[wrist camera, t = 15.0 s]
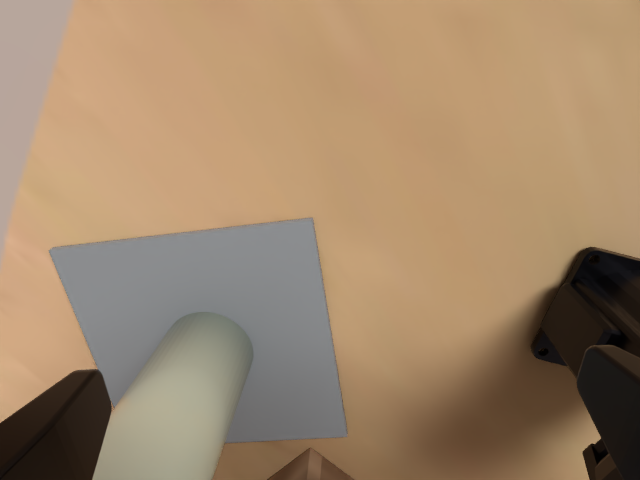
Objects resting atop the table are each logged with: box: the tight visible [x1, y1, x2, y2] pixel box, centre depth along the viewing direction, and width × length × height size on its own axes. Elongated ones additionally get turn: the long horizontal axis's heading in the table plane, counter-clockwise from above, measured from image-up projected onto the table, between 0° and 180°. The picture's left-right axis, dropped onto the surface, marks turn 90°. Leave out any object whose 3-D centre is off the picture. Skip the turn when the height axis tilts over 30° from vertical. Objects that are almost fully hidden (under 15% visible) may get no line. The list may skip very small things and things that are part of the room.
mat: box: [49, 218, 347, 443], centre depth 24 cm, size 14×14×1 cm
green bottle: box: [92, 312, 253, 480], centre depth 18 cm, size 5×5×14 cm
